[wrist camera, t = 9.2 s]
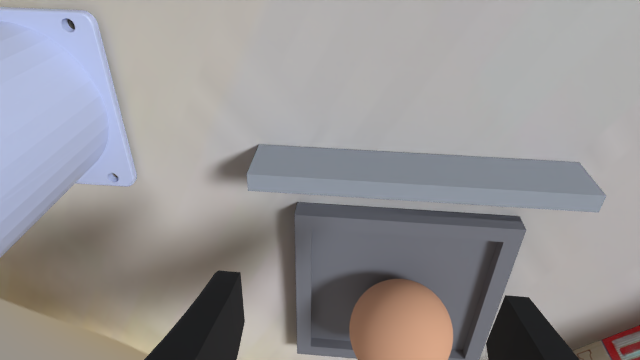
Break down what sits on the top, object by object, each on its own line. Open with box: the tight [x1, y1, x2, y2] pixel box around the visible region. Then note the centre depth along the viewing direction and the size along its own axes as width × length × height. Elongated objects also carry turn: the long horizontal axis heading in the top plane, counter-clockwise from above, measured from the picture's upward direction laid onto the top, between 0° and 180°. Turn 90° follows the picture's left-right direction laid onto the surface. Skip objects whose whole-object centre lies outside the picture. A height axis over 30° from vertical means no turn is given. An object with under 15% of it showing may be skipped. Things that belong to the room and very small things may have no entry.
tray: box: [295, 202, 526, 360], centre depth 23 cm, size 11×11×1 cm
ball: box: [349, 279, 453, 360], centre depth 21 cm, size 5×5×5 cm
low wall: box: [247, 145, 606, 212], centre depth 18 cm, size 14×1×2 cm, turn 89°
